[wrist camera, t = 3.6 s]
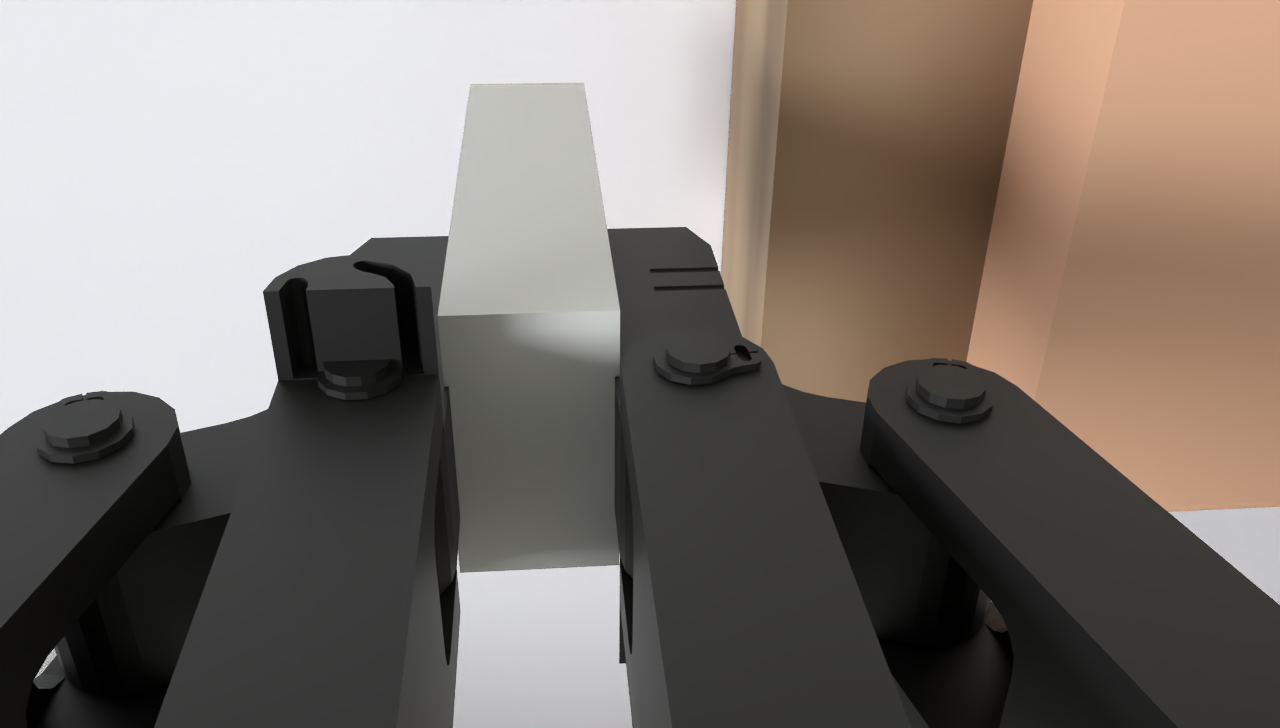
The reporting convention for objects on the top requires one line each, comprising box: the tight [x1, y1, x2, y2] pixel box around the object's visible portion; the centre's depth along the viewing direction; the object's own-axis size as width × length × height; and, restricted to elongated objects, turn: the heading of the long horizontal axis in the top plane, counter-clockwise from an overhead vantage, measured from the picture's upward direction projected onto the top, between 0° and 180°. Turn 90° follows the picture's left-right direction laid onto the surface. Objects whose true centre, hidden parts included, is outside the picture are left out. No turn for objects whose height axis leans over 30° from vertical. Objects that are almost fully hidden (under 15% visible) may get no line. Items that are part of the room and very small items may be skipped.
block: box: [966, 0, 1280, 512], centre depth 16 cm, size 7×10×2 cm
